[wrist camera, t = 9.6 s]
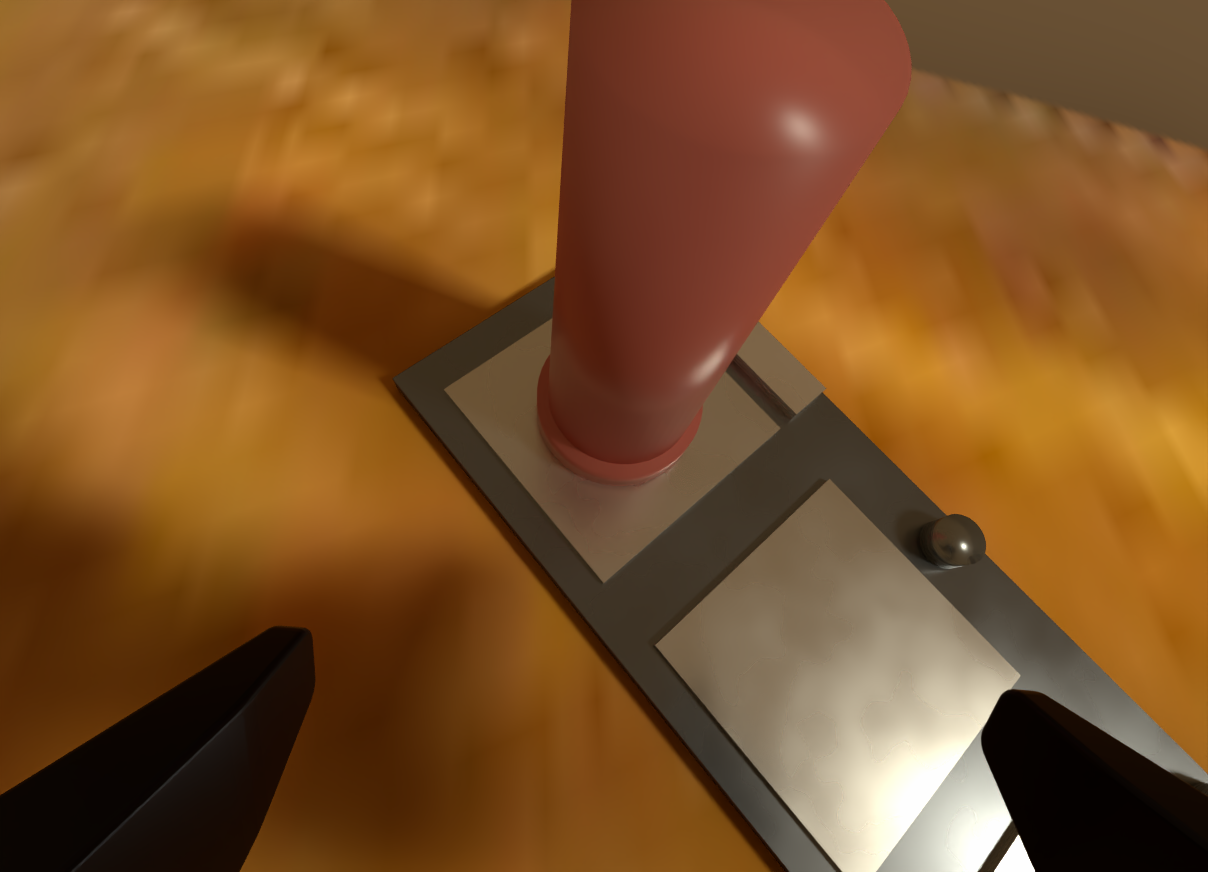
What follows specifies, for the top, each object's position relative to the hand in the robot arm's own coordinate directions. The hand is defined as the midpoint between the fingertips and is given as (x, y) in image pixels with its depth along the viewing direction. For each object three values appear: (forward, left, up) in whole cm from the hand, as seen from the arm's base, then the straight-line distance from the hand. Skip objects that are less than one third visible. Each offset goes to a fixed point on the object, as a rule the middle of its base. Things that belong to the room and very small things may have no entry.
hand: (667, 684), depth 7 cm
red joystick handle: (+5, +5, -7) cm, 10 cm away
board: (+6, -4, -8) cm, 11 cm away
